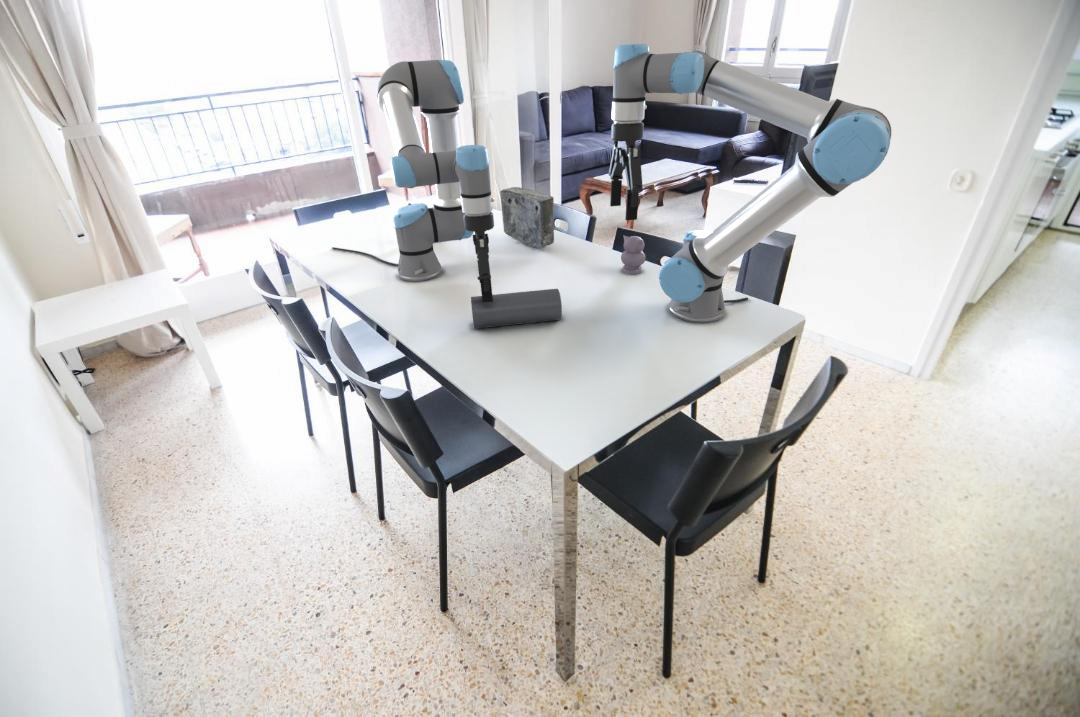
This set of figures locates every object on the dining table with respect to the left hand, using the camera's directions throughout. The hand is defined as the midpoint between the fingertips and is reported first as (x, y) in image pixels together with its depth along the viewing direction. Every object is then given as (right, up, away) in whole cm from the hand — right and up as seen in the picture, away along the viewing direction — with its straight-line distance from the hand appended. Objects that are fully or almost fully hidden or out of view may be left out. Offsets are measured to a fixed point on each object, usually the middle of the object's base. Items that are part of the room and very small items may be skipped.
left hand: (486, 291), depth 135 cm
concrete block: (+11, +28, +65) cm, 71 cm away
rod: (+8, -8, +7) cm, 13 cm away
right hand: (+36, +19, -7) cm, 42 cm away
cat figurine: (+47, +12, +37) cm, 61 cm away
